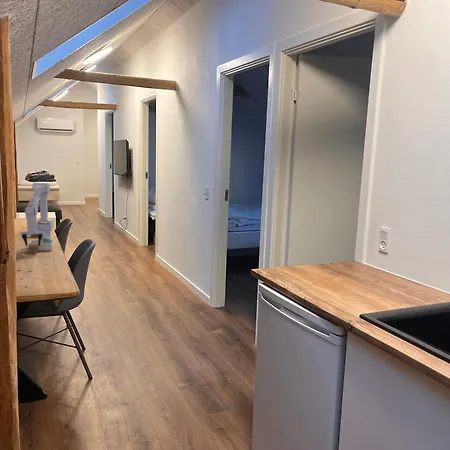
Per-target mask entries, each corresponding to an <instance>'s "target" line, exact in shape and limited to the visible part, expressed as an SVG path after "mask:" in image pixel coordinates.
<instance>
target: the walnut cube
mask: <svg viewBox="0 0 450 450" xmlns="http://www.w3.org/2000/svg"><path fill="white" fill-rule="evenodd" d="M27 249H28V254H38V252H39V251H38V244H29V243H28V245H27Z"/></svg>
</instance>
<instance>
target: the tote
mask: <svg viewBox="0 0 450 450" xmlns="http://www.w3.org/2000/svg"><path fill="white" fill-rule="evenodd" d="M50 241H51V243H43V240H41V242H40V246H38V252H44V251H46V252H47V251H53V250H54V248H55V239H51V240H50ZM29 244H38V239H32V240H31V241H30V242H29V243H28V245H29Z"/></svg>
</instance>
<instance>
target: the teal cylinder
mask: <svg viewBox="0 0 450 450" xmlns="http://www.w3.org/2000/svg"><path fill="white" fill-rule="evenodd" d="M42 240H43V243H51V241H50V237H44V238H42Z"/></svg>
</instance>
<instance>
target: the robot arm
mask: <svg viewBox="0 0 450 450" xmlns="http://www.w3.org/2000/svg"><path fill="white" fill-rule="evenodd" d="M31 188H32V192H33V195H32V198H30V199H29V202H28V205H27V207H25V208H24V214H25V219H26V229H27V231H20V232H19V235H20V236H21V238H22V240H23V242H24V245H25V247H28V236H30V235H38V237H37V240H38V246H40V242H41V240H42V238H44V237H50V240H52V237H51V232H53V229H54V225H53V220H52V219H50V218H49V217H48V216H49V214H48V211H49V210H48V209H49V208H48V195H50V191H51V189H50V184H49V183H48V182H33V184H32V187H31ZM38 208H40V209H38ZM39 210H40V212H38V211H39ZM38 213H40V216H39V217H40V218H39V219H37V216H38Z"/></svg>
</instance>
